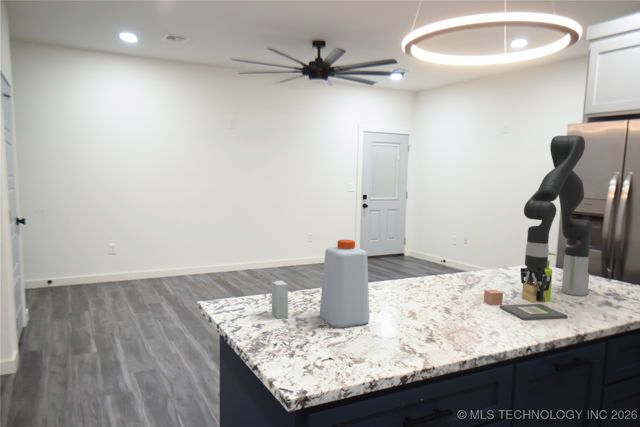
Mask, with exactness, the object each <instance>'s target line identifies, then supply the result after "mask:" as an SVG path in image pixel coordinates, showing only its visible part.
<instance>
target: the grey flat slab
mask: <svg viewBox="0 0 640 427" xmlns="http://www.w3.org/2000/svg"><path fill="white" fill-rule="evenodd" d="M499 308H500V309H501V310H503V311H505V312H507V313H508V314H510V313H511V314H510V315H512V314H513V316H514V315H515V316H514V317H516V316H517V318H519V319H521V320H522V321H538V320H540V321H541V320H557V319H558V320H559V319H560V320H561V319H568V315H567V314H565V313H562V312H560V311H558V310H556V309H553V308H551V307H550V306H546V305H545V304H542V303H528V304H502V305H499Z"/></svg>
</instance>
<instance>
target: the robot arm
mask: <svg viewBox="0 0 640 427" xmlns="http://www.w3.org/2000/svg"><path fill="white" fill-rule="evenodd" d="M549 146H550V155H551V160H552V163H553V167H554V168H553V169H551V170H550V171H549V172H548V173H547V174H546V175H545V176H544V177H543V179H542V181H541V182H540V185H539V186H538V189H537V191H535V193H534V194H533V195H532V196H531V197H530V198H529V199H528V200H527V201H526V203H525V204H524V206H523V207H524V208H523V214H524V216H525V218H527V219H530V220H535V221H541V222H540V224H538V225H533V226H529V227H528V229H527V237H526V241H527V242H526V245H525V257H524V266H525V267H521V268H520V281H521V282H520V283H521V284H522V285H523V283H534V284H535V285H536V287H537V295H536V300H537V301H542V300H543V294H544V291H548V290H549V286H550V282H551V276H550V275H549V276H548V275H546V274H545V268H547V264H548V261H549V255H548V253H549V238H550V231H551V227H552V225H553V222H554V220H555V217H556V215H557V207H556V204H555V203H553V202H555V201H556V200H557V199H558V200H559V204H560V211H561V212H560V214H561V229H562V230H561V232H562V235H563V238H565V239H567V240H573V241H580V242H579V244H577V245H572V246H568V247H566V248H564V255H563V257H564V258H563V268H562V280H561V283H562V284H561V292H562V293H563V294H566V295H571V296H578V297H579V296H581V297H583V296H586V295H588V293H589V282H590V272H588V271H589V270H588V269H589V258H590V257H589V256H590V248H591V240H592V234H593V223H592V221H591V220H588V219H578V218H577V219H576V218H573V217H572V214H573V213H574V211H575V210H576V209H577V208H578V207H579V205H580V204H581V203H582V201H583V200H584V198H585V191H584V188H585V187H584V182H583V180H582V178H581V177H579V175H578V174H577V173H576V172H575V171H574V169H575V167H576V166H577V165H578V163H579V161H580V160H581V158H582V156H583V155H584V152H585V149H586V142H585V138H584V137H583V136H582V135H573V134H572V135H570V134H569V135H556V136H553V138H552V139H551V141H550V145H549ZM540 281H541V283H538V282H540ZM551 283H552V282H551ZM539 285H541V288H540V286H539ZM545 285H546V287H545Z"/></svg>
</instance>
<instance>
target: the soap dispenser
mask: <svg viewBox="0 0 640 427" xmlns="http://www.w3.org/2000/svg"><path fill="white" fill-rule="evenodd" d="M548 256H557V254H556V253H553V252H548ZM545 274H546V275H548V276H549V275H550V276H551V282H550V286H549V290H548V291H546V295H545V302H550V301H551V295H552V294H551V293H552V281H553V280H552V278H553V269H552V268H550V260H548V264H547V268H545ZM538 283H541V281H540V282H538ZM545 286H546V285H545Z"/></svg>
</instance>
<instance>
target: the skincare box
mask: <svg viewBox="0 0 640 427" xmlns="http://www.w3.org/2000/svg"><path fill="white" fill-rule="evenodd" d="M270 286H271V289H270V290H271V314H272V315H273V316H274V317H275V318H276V319H278V320H279V319H280V320H281V319H286V318H288V317H289V299H288V298H289V291H288V288H289V287H288V283H286V282H284V280H281V279H280V280H274V281H271V285H270Z"/></svg>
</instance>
